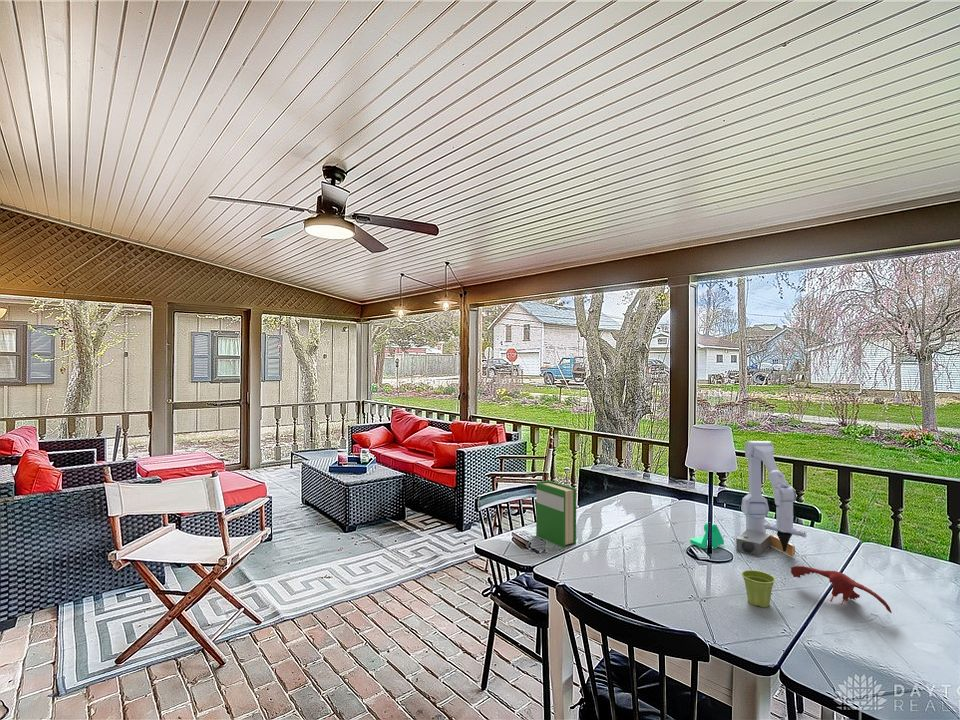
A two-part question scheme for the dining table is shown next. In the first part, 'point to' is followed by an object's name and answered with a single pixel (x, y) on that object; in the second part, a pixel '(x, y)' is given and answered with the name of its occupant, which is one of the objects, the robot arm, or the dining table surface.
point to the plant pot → (758, 587)
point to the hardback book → (556, 513)
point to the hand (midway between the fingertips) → (784, 550)
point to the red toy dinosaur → (838, 583)
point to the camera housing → (753, 542)
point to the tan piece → (777, 544)
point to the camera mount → (702, 540)
